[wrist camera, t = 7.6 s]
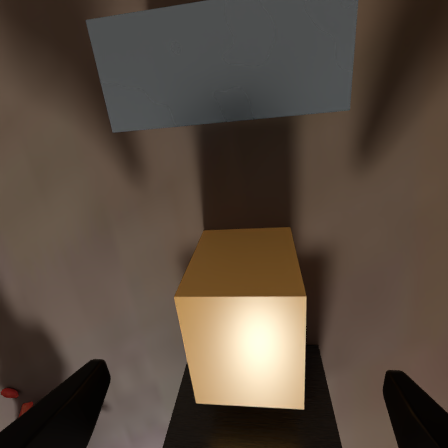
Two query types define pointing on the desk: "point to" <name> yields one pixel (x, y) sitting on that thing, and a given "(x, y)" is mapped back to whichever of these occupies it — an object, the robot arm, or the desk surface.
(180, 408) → the block
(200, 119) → the gray rectangular block
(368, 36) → the desk surface
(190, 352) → the block
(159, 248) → the desk surface
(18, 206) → the desk surface
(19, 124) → the desk surface
